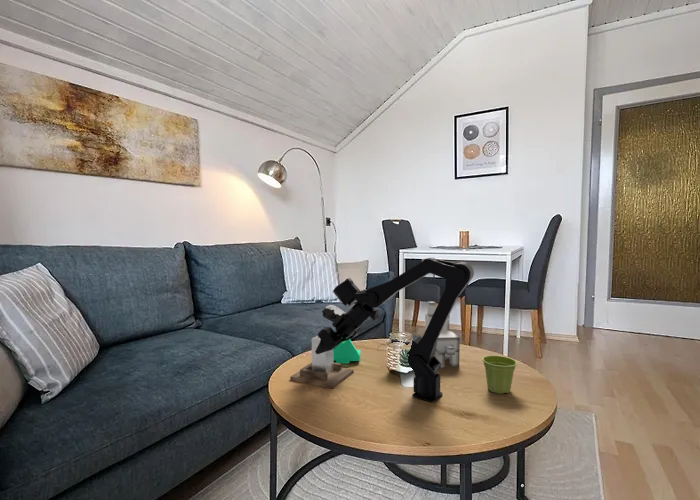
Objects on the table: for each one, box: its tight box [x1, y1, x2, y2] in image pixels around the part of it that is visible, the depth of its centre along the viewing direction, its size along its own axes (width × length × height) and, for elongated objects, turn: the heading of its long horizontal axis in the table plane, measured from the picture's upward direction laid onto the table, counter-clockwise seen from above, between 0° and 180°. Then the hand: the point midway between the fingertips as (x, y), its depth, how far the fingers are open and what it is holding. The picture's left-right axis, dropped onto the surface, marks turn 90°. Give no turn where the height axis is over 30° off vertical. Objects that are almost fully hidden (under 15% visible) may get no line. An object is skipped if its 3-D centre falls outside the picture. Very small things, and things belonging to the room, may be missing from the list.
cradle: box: [289, 361, 355, 390], centre depth 122 cm, size 15×14×3 cm
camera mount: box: [333, 339, 362, 364], centre depth 137 cm, size 12×8×10 cm, turn 86°
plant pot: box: [481, 355, 518, 395], centre depth 111 cm, size 9×9×9 cm
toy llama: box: [424, 301, 461, 368], centre depth 136 cm, size 8×18×20 cm, turn 5°
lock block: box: [311, 335, 334, 375], centre depth 121 cm, size 5×5×12 cm
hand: (323, 348), depth 121 cm, fingers open, 9 cm apart
